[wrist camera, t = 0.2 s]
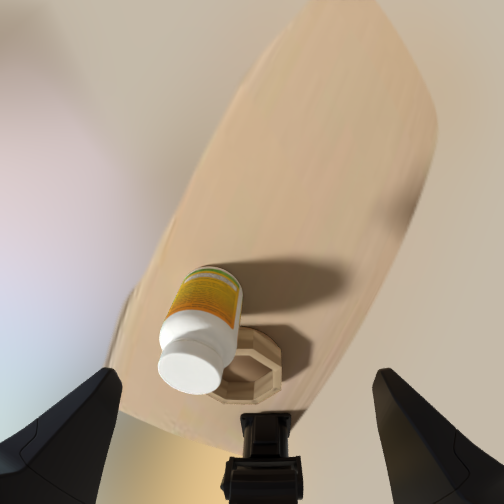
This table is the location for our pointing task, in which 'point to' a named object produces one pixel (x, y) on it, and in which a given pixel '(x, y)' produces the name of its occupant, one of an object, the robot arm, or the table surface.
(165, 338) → the supplement bottle
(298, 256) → the table surface
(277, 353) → the can holder
